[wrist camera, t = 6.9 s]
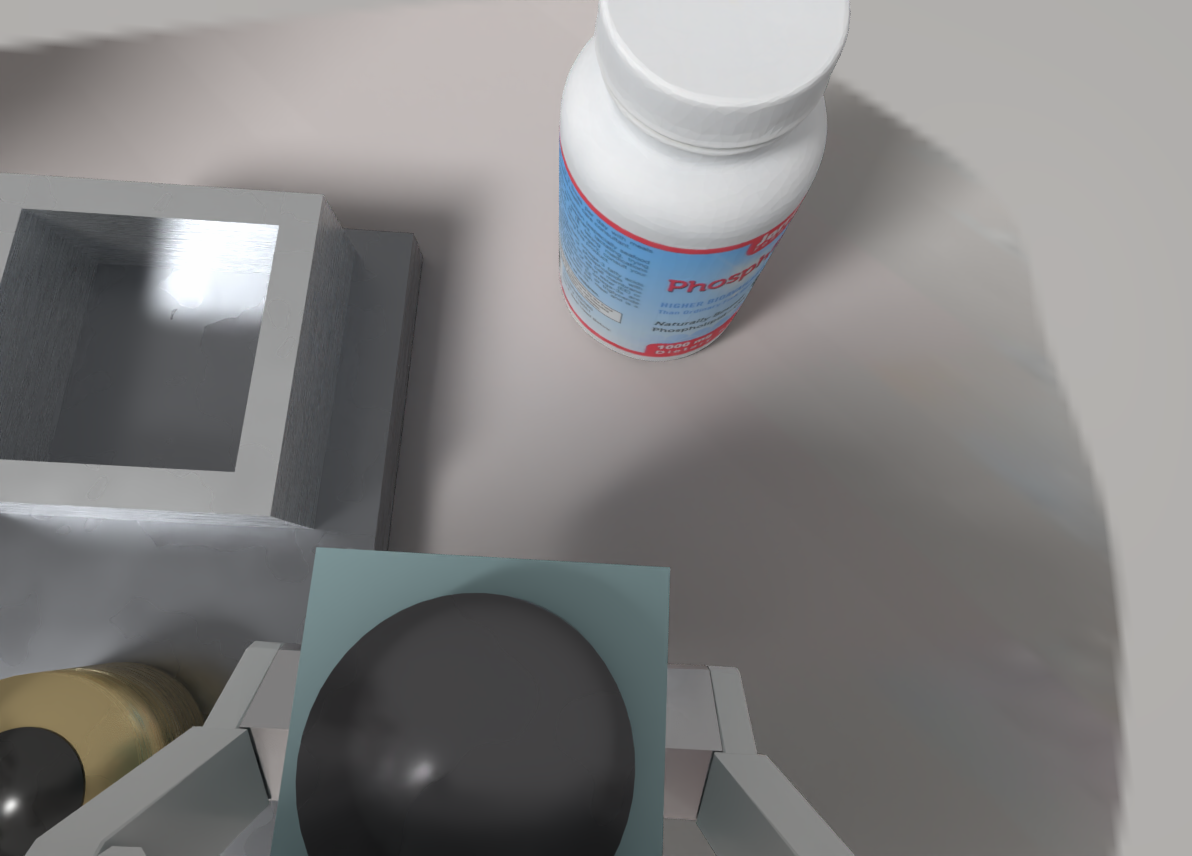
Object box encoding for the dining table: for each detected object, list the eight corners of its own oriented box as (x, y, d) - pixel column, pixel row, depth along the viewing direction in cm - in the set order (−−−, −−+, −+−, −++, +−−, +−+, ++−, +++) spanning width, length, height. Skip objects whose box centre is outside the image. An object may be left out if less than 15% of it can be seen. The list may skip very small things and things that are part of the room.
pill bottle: (670, 402, 22) (773, 210, 11) (522, 293, 23) (485, 13, 12) (774, 269, 24) (955, -18, 13) (631, 169, 24) (687, -184, 13)
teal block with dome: (392, 798, 15) (214, 1004, 8) (418, 568, 17) (288, 541, 9) (617, 809, 15) (671, 1021, 8) (627, 580, 17) (681, 563, 9)
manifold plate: (-134, 933, 18) (-368, 1044, 13) (54, 232, 23) (-71, 142, 18) (339, 948, 18) (266, 1061, 14) (422, 256, 23) (389, 173, 19)
